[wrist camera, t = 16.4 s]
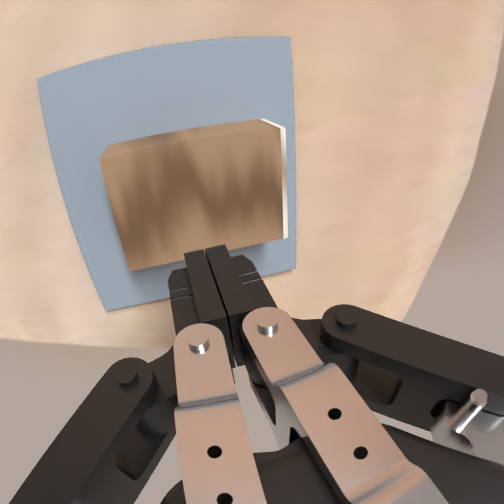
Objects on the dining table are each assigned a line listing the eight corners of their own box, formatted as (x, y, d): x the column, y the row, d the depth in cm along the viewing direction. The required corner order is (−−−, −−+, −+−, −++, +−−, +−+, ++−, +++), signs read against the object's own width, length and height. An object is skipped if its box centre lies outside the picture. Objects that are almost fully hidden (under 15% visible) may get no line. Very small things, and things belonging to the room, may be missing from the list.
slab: (99, 159, 14) (285, 127, 17) (108, 145, 17) (264, 118, 19) (130, 271, 18) (287, 237, 20) (131, 242, 21) (269, 214, 23)
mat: (39, 78, 14) (37, 78, 14) (288, 37, 17) (290, 36, 17) (105, 308, 24) (105, 311, 23) (294, 265, 27) (295, 268, 27)
